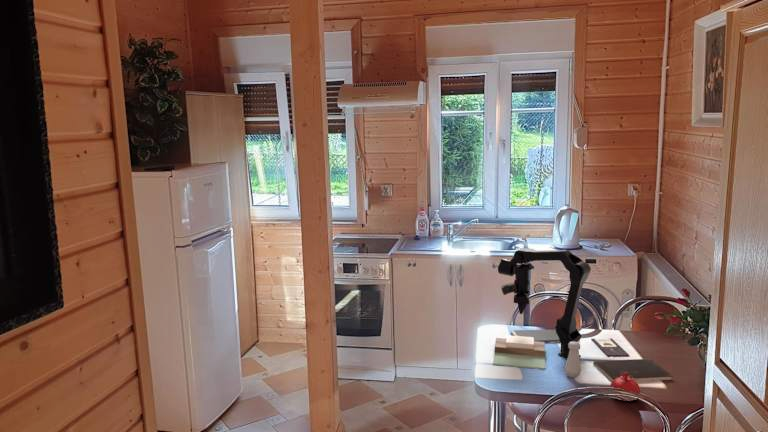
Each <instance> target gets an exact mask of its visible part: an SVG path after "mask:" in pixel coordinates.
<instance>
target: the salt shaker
mask: <svg viewBox="0 0 768 432" xmlns="http://www.w3.org/2000/svg"><path fill="white" fill-rule="evenodd" d="M568 347H569V349H570V351H569V355H568V359H567V358H566V359H567V360H566V363H565V366H564V370H565V373H566V375H567V376H568V377H570V378H575V379H576V378H578V377H579V376H580V375H581V373H582V368H581V367H582V366H581V360H580V359H581V357H579V355H580V350H581V343H580V342H575V341H572V342H569V344H568Z"/></svg>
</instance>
